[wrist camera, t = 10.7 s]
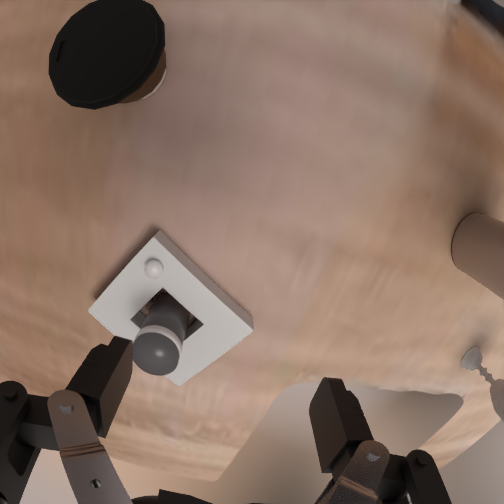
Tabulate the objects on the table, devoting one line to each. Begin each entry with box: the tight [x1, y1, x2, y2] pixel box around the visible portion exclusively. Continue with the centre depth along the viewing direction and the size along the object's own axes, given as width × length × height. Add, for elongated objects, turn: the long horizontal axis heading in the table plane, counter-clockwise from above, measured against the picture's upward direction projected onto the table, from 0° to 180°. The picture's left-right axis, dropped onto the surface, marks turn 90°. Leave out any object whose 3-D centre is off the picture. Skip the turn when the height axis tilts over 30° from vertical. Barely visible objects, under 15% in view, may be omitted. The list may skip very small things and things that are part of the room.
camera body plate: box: [88, 230, 254, 386], centre depth 36 cm, size 16×14×4 cm
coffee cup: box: [49, 0, 166, 110], centre depth 23 cm, size 11×11×12 cm
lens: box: [133, 293, 191, 375], centre depth 33 cm, size 5×5×10 cm
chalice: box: [461, 347, 504, 422], centre depth 36 cm, size 7×7×18 cm
